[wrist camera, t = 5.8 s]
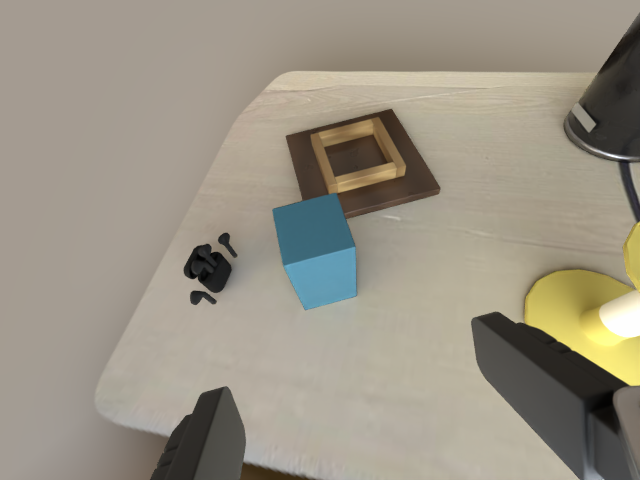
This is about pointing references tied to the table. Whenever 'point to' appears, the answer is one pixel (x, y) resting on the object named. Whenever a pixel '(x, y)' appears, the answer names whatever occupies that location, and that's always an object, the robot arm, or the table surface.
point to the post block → (317, 250)
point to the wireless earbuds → (209, 269)
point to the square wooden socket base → (361, 164)
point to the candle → (594, 313)
